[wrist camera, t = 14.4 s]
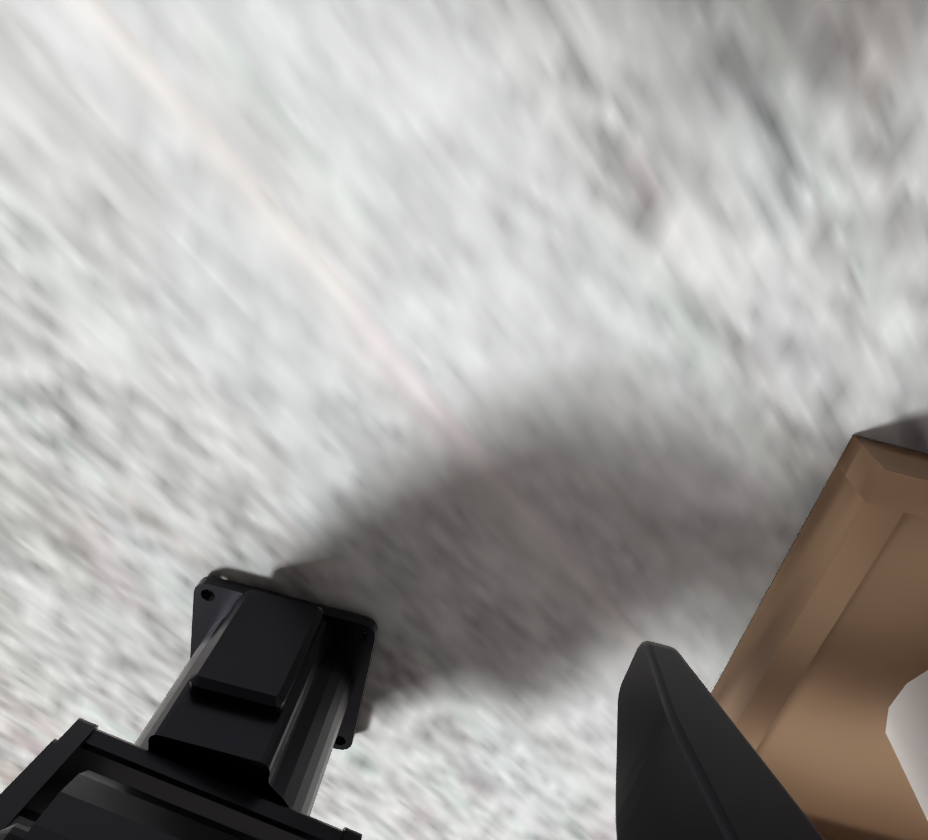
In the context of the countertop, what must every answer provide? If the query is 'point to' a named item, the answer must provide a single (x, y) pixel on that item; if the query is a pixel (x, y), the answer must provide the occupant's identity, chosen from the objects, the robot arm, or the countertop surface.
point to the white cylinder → (912, 735)
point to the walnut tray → (842, 648)
